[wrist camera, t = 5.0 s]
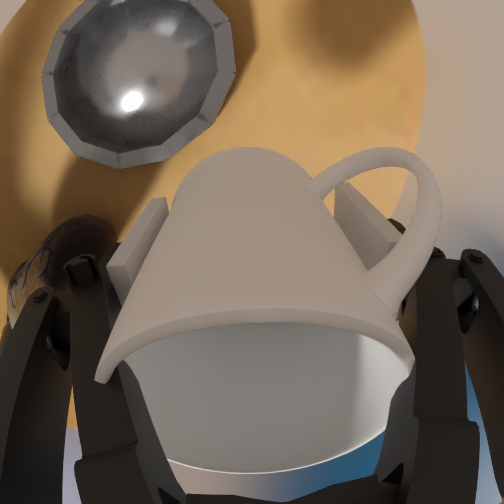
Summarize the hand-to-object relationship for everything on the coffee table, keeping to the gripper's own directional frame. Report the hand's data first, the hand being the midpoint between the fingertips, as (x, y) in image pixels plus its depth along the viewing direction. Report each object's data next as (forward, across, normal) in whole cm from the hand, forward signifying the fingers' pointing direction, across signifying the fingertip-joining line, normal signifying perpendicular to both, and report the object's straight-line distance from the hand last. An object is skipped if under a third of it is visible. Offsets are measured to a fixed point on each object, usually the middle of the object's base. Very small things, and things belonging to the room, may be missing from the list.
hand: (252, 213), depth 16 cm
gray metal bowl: (+15, -10, +10) cm, 21 cm away
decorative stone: (+16, -20, -8) cm, 27 cm away
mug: (+1, +1, 0) cm, 1 cm away
